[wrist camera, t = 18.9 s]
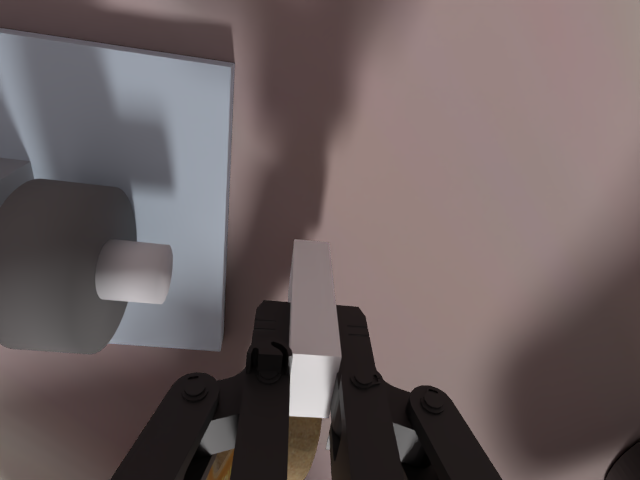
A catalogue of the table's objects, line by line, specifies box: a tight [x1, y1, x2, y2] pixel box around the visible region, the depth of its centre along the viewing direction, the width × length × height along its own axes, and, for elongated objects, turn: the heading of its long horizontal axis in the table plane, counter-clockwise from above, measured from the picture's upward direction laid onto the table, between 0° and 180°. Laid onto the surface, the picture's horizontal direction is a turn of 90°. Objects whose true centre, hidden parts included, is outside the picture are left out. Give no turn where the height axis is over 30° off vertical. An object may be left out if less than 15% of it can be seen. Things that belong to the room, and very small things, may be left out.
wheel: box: [0, 178, 173, 354], centre depth 15 cm, size 4×6×6 cm
